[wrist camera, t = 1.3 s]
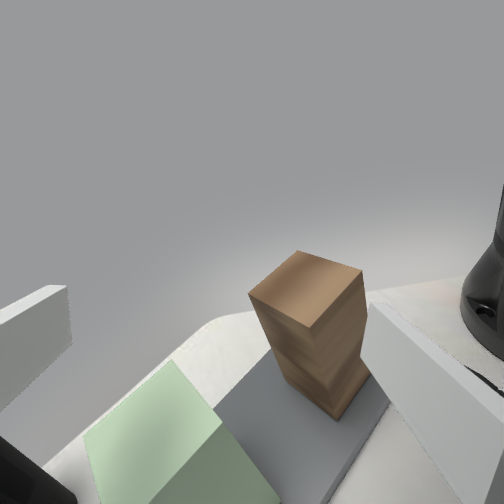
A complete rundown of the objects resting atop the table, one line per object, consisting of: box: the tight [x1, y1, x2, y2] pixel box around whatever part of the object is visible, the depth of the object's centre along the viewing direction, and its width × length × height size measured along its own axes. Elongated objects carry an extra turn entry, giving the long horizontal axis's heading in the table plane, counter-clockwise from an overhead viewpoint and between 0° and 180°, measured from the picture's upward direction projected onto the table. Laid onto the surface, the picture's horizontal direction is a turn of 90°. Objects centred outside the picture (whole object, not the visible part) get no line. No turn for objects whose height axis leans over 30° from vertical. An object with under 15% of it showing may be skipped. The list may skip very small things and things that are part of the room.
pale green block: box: [83, 359, 282, 504], centre depth 18 cm, size 6×6×12 cm
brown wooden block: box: [248, 251, 371, 421], centre depth 24 cm, size 6×6×12 cm
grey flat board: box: [213, 349, 391, 504], centre depth 22 cm, size 12×32×2 cm, turn 132°
